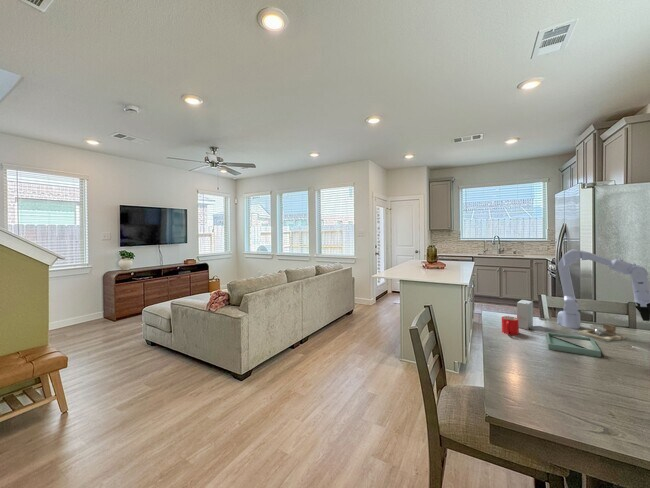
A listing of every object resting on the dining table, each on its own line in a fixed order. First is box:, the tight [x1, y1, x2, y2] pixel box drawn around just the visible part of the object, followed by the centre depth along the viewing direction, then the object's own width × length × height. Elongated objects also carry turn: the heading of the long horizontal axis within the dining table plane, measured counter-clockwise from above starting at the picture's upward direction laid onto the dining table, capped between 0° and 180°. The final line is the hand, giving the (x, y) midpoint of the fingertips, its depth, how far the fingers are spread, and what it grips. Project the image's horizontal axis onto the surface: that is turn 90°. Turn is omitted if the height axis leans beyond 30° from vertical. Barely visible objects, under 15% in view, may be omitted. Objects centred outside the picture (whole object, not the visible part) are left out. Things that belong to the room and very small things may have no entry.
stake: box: [589, 325, 606, 337], centre depth 144 cm, size 6×2×4 cm, turn 11°
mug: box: [501, 315, 520, 336], centre depth 156 cm, size 8×12×8 cm, turn 140°
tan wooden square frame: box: [577, 323, 625, 342], centre depth 144 cm, size 12×12×5 cm
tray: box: [545, 331, 602, 358], centre depth 137 cm, size 18×18×2 cm
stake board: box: [573, 331, 631, 344], centre depth 144 cm, size 15×15×2 cm
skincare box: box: [516, 299, 534, 330], centre depth 165 cm, size 8×6×15 cm
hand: (646, 318), depth 139 cm, fingers open, 7 cm apart
